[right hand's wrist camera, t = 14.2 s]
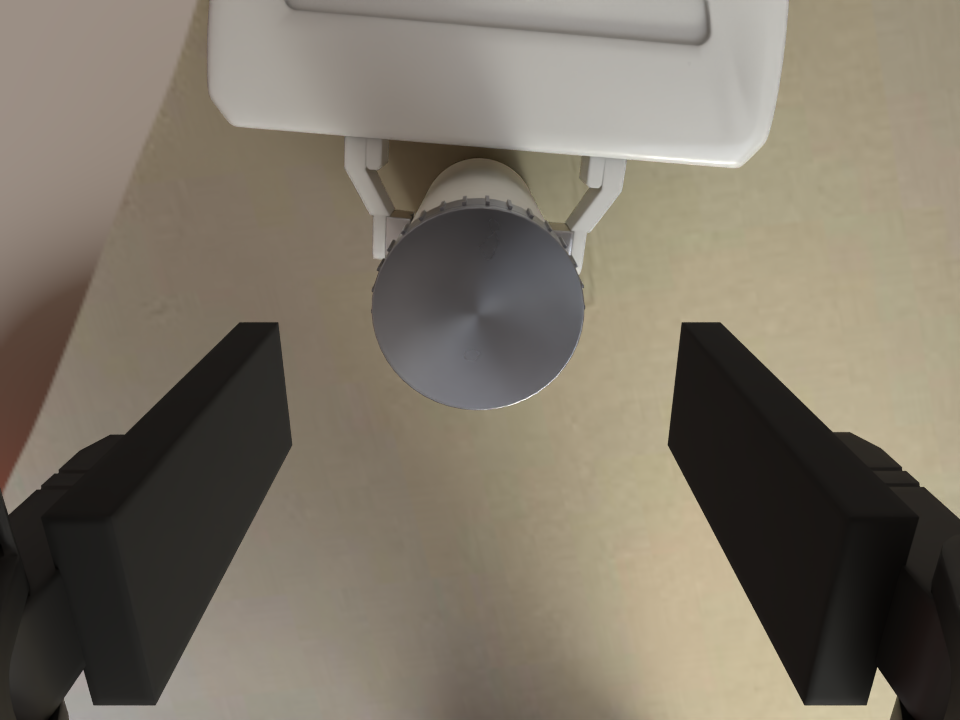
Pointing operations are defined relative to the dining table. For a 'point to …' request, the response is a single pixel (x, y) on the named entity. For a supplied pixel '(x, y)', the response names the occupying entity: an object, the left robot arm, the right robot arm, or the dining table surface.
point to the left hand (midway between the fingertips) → (478, 264)
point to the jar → (479, 185)
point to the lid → (478, 304)
